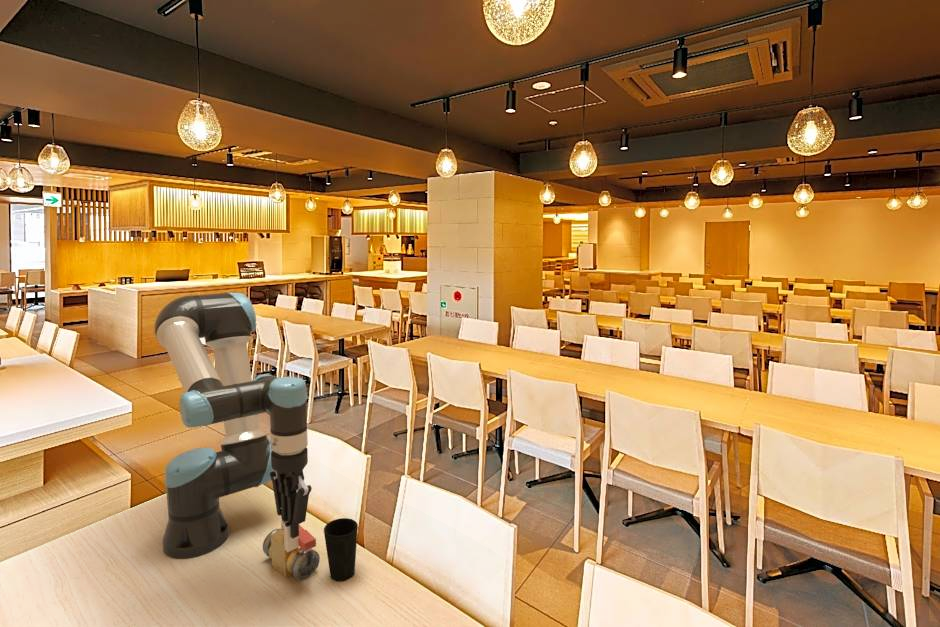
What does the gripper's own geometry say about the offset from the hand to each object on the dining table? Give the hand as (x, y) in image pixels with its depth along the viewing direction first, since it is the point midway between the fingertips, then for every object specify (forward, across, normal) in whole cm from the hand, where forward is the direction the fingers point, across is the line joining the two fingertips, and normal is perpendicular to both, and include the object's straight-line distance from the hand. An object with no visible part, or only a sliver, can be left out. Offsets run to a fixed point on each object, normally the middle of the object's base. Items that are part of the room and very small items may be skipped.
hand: (291, 548), depth 115 cm
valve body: (+10, -7, +4) cm, 12 cm away
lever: (0, -2, +3) cm, 4 cm away
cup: (+10, +5, +10) cm, 15 cm away
